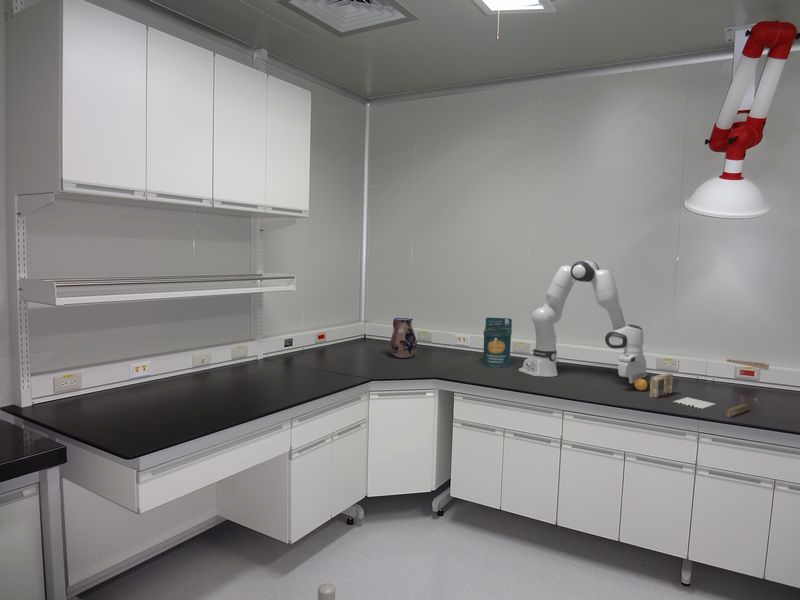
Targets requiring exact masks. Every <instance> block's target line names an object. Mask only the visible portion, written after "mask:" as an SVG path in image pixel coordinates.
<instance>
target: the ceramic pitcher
mask: <svg viewBox="0 0 800 600" xmlns="http://www.w3.org/2000/svg"><path fill="white" fill-rule="evenodd" d="M413 320H414V319H413V317H409V318H408V317H394V318H393V320H392V327H393V331H392V333H391V334H392V335H391V338H390V343H389V344H390V345H389V346H390V350H391V352H392V354H393V355H394V356H395V357H396V358H400V359H407V358H411V357H413V356H414V355H415V354H416V351H417V350H418V341H417V337H416V334H415V330H414V328H413V324H412V322H413Z"/></svg>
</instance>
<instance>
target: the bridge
mask: <svg viewBox="0 0 800 600" xmlns="http://www.w3.org/2000/svg"><path fill="white" fill-rule="evenodd" d="M673 379H674V374H672V373H667V372H666V373H662V374H658V375H653V376H650V382H649V383H650V384H649V397H650V398H653V397H655V398H654V399H657V397H658V398H659V383H660V382H659V381H661V380H664V384H663V393H664V392H665V393H664V394H667V393H669V394H668V395H671V394H670V393H672V394H673V381H674V380H673Z"/></svg>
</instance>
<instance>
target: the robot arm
mask: <svg viewBox="0 0 800 600" xmlns="http://www.w3.org/2000/svg"><path fill="white" fill-rule="evenodd" d="M576 281H577V282H584V283H586V282H587V283H591V285H592V287H593V291H594V296H595V299H596V302H597V304H598V305H599V306H600V307H601V308H603V309H604V310H606V311H607V312H608V316H609V318H610V322H611V325H612V330H611V331H609V332H608V333H606V335H605V337H604V341H605V344H606V345H607V347H609V348H610V349H615V350H616V349H623V351H624V352H623V353H622V354H620V356H618V367H617V370H618V375H619V377H623V378H626V377H627V376H628V378H629V379H628V383H629V384H634V383H635V381H636V378H637V374H640V373H644V372H646V373H647V360H646V356H645V355H644V349H643V345H644V341H645V340H644V329H643V328H642V327H641V326H639V325H635V324H627V325H626V323H625V319H624V314H623V312H622V308H621V306H620V305H621V303H620V300H619V294H618V289H617V284H616V282H615V279H614V276H613V274H612V272H611V271H610V270H608V269H600V267H599V265H598V264H597V263H596V262H595V261H593V260H588V259H587V260H580V261H576V262H575V263H573V265H571V266H570V265H562V266H560V267H559V268H558V270H557V271H556V273H555V275H554V276H553V278H552V280H551V283H550V285H549V287H548V289H547V291H546V293H545V302H544V304H543V306H540V307H537V309H535V310H534V311H533V313H532V315H531V320H532V322H533V324H534V329H535V348H534V349H532V350H531V352H532V355H531V356H529V357H528V358H526V359H524V361H523V364H522V367H520V368H518V371H519V372H521V373H524V374H527V375H529V376H532V377H547V378H548V377H557V376H558V370H557V369H558V368H557V353H558V352H557V335H556V332H555V324H558V322H559V321H560V320H561V318H562V315H563V310H564V307H565V304H566V301H567V300H568V299H567V298H568V297H569V294H570V292H571V290H572V288H573V286H574V285H575V283H576Z"/></svg>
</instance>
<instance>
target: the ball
mask: <svg viewBox="0 0 800 600" xmlns="http://www.w3.org/2000/svg"><path fill="white" fill-rule="evenodd" d="M633 384H634V387H635V389H636V390H638V391H645V390H647V388H648V382H647V380H645V378H643V379H641V378H640V379H637V380H636V381H635V383H633Z"/></svg>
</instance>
